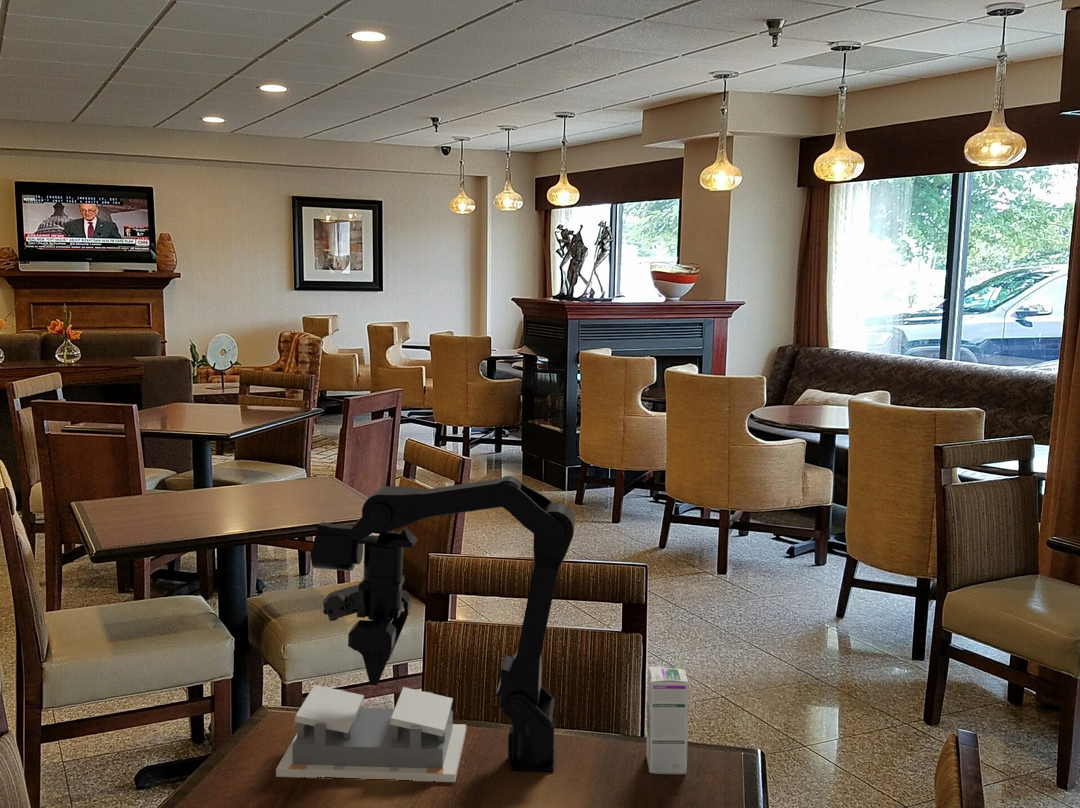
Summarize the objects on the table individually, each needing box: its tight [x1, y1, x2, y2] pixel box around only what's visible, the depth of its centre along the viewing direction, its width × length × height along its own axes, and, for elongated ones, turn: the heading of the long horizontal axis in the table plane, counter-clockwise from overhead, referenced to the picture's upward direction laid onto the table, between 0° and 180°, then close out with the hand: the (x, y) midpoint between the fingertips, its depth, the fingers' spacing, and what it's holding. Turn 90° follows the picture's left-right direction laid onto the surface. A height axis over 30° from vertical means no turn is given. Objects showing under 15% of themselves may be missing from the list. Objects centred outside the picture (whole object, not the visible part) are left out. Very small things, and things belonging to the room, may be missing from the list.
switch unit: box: [275, 688, 467, 783], centre depth 150 cm, size 26×16×7 cm, turn 89°
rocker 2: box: [390, 686, 454, 736], centre depth 149 cm, size 8×11×2 cm
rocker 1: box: [294, 684, 365, 733], centre depth 150 cm, size 8×11×2 cm
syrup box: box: [645, 665, 689, 775], centre depth 147 cm, size 6×6×14 cm
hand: (379, 672), depth 149 cm, fingers open, 9 cm apart
